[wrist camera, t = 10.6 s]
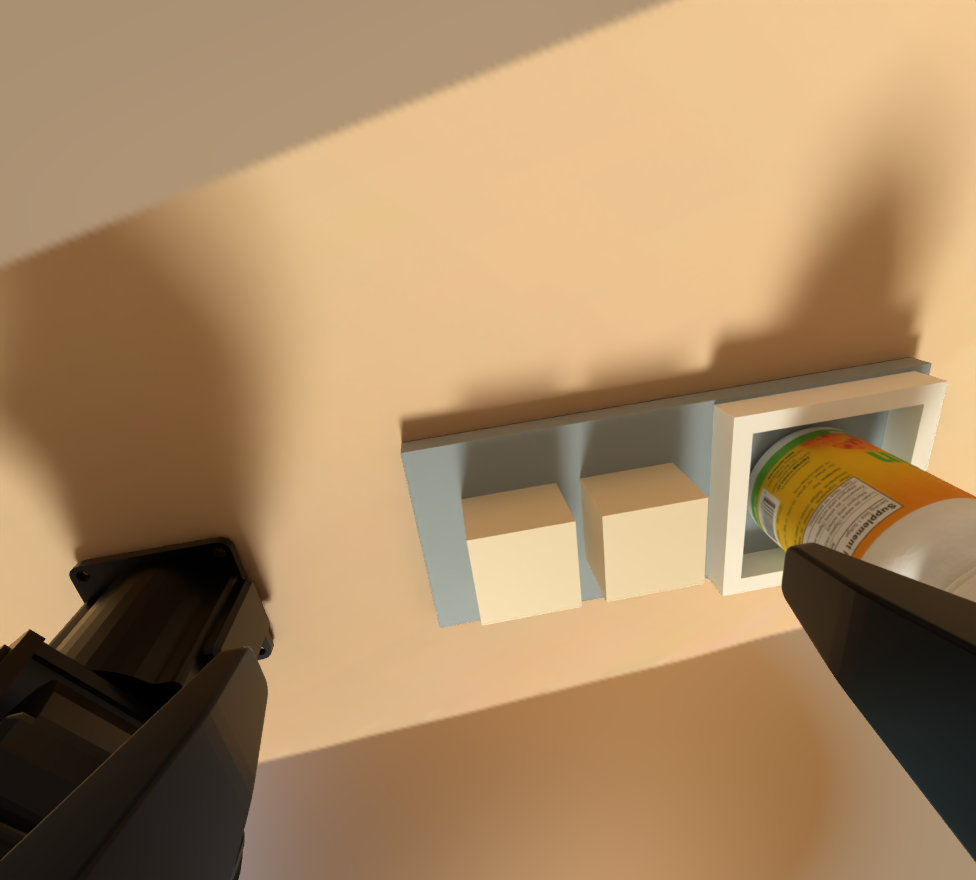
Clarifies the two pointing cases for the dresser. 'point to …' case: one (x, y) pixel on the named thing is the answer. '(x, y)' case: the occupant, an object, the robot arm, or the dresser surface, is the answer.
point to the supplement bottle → (865, 507)
